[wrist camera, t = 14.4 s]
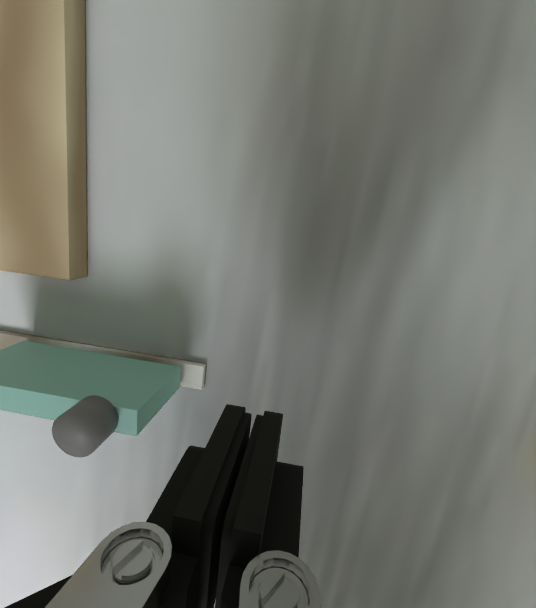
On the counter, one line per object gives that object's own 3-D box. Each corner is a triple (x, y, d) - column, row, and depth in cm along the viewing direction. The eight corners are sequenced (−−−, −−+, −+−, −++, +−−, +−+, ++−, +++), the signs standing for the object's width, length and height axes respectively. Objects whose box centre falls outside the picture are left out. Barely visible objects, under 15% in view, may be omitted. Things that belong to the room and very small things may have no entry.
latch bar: (181, 360, 16) (118, 421, 11) (179, 392, 16) (117, 465, 11) (23, 334, 17) (-102, 380, 12) (25, 365, 17) (-96, 421, 12)
